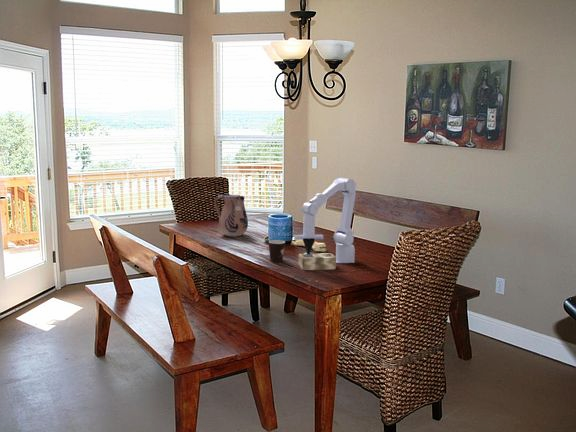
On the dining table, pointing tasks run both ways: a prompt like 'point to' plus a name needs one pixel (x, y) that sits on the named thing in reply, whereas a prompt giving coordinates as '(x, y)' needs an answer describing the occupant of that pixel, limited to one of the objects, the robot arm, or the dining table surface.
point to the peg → (308, 254)
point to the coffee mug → (276, 250)
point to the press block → (317, 262)
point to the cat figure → (315, 246)
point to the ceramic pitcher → (232, 215)
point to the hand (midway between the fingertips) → (308, 253)
